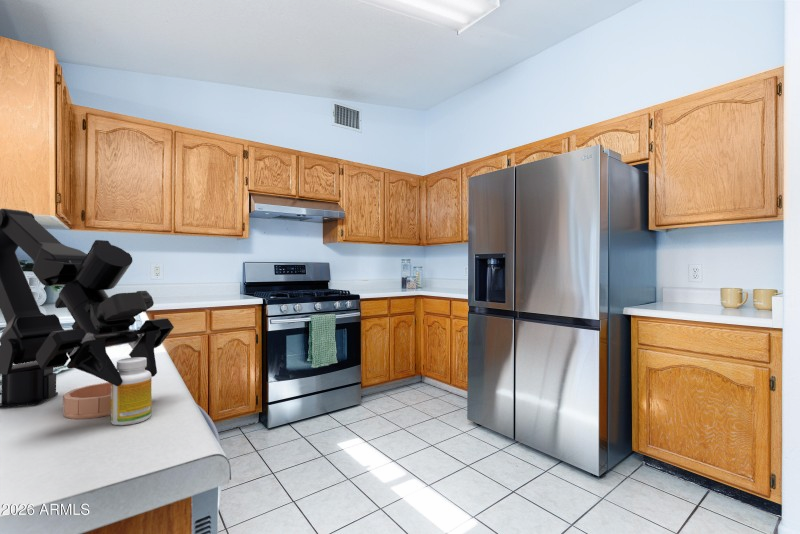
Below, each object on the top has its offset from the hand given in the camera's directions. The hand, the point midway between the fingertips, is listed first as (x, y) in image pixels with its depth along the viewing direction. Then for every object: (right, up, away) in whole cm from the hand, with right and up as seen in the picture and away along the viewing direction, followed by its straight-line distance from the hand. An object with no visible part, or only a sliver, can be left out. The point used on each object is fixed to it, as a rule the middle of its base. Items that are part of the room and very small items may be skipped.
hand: (138, 379), depth 62 cm
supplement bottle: (-1, -7, 0) cm, 7 cm away
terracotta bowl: (-10, -7, +6) cm, 14 cm away
